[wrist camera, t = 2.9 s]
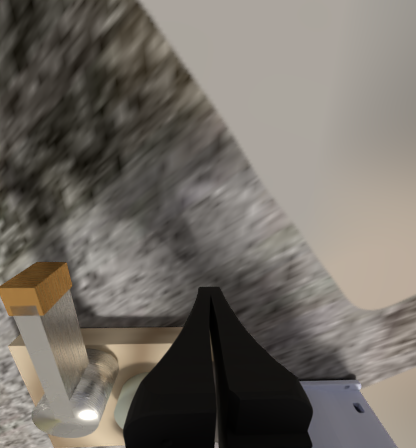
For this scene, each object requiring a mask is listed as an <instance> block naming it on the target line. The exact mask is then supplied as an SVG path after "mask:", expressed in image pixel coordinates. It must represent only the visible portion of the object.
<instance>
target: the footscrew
mask: <svg viewBox="0 0 416 448" xmlns="http://www.w3.org/2000/svg"><path fill="white" fill-rule="evenodd" d="M71 287H72V282H71V278H70V274H69V271H68V267H67V263H66V262H36V263H35V264H33V265H32V266H30V267H28V268H27V269H25V270H24V271H22V272H21V273H19V274H18V275H16V276H15V277H13V278H12V279H10V280H9V281H7V282H6V283H4V284H3V285H1V286H0V296H1V299H2V301H3V303H4V306H5V308H6V310H7V313H8V315H9V316H13V317H14V319H15V321H16V324H17V326H18V329H19V331H20V334H21V336H22V339H23V341H24V343H25V346H26V348H27V351H28V353H29V356H30V358H31V360H32V363H33V365H34V368H35V370H36V373H37V375H38V378H39V380H40V382H41V385H42V387H43V390H44V392H45V393H44V395H43V396H42V398H41V399H40V401H39V402H38V404H37V406H36V407H35V409H34V410H33V412H32V420H33V422H34V424H35V425H36V426H37V427H38V428H39V429H40V430H42V431H44V432H45V433H48V434H50V435H53V436H57V437H62V438H79V437H84V436H87V435H89V434H91V433H93V432H94V431H95V430H96V429H97V428H98V426H99V423H100V421H101V418H102V415H103V413H104V410H105V407H106V405H107V402H108V399H109V397H110V394H111V391H112V389H113V386H114V383H115V381H116V378H117V375H118V372H119V365H118V362H117V361H116V359H115V358H114V357H112V356H111V355H110V354H108V353H106V352H104V351H101V350H97V349H86V348H85V345H84V341H83V337H82V333H81V329H80V326H79V322H78V318H77V314H76V311H75V307H74V303H73V299H72V296H71V292H70V288H71Z"/></svg>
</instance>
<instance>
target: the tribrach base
mask: <svg viewBox="0 0 416 448" xmlns="http://www.w3.org/2000/svg"><path fill="white" fill-rule="evenodd" d="M182 328H183V327H148V328H80V329H81V333H82V337H83V341H84V345H85V348H86V349H97V350H101V351H104V352H106V353H108V354H110V355H111V356H112V357H114V358H115V359H116V361H117V362H118V365H119V372H118V375H117V378H116V381H115V383H114V386H113V389H112V391H111V394H110V397H109V399H108V402H107V405H106V407H105V410H104V413H103V415H102V418H101V421H100V423H99V426H98V428H97V429H96V430H95V431H94V432H93V433H91V434H89V435H87V436H84V437H79V438H62V437H57V436H53V435H50V434H48V435H49V438H50V440H51V442H52V444H53V446H54V448H66V447H92V446H117V445H125V442H124V437H123V428H124V424H125V420H126V417H127V413H128V410H129V407H130V405H131V402H132V399H133V397H134V395H135V393H136V391H137V388H138V386H139V384H140V382H141V381H142V380H143V379H144V378H145V376H146V375H147V374H148V373H149V372H150V371H151V370H152V369H153V368H154V367H155V366H156V364H157V363H158V362H159V361H160V360H161V358H162V357H163V356H164V355H165V353H166V352H167V351H168V350H169V348H170V347H171V345H172V344H173V343H174V341H175V340H176V338H177V337H178V335H179V333H180V332H181V330H182ZM210 342H211V337H210ZM8 347H9V349H10V352H11V354H12V356H13V358H14V360H15V363H16V365H17V367H18V369H19V371H20V374H21V376H22V378H23V380H24V382H25V385H26V387H27V389H28V391H29V393H30V396H31V398H32V400H33V402H34V405H35V407H36V406H37V404H38V402H39V401H40V399H41V398H42V396H43V395H44V393H45V392H44V390H43V387H42V385H41V382H40V380H39V378H38V375H37V373H36V370H35V368H34V365H33V363H32V360H31V358H30V356H29V353H28V351H27V348H26V346H25V343H24V341H23V339H22V336H21V334H20V335H19V336H18V337H17V338H16V339H15V340H14V341H13V342H12V343H11V344H10V345H9V346H8ZM211 354H212V365H213V374H214V383H215V392H216V380H215V367H214V359H213V352H212V344H211ZM216 407H217V400H216ZM215 442H217V443H218V420H217V416H216V430H215Z"/></svg>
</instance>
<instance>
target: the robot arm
mask: <svg viewBox="0 0 416 448" xmlns="http://www.w3.org/2000/svg"><path fill="white" fill-rule="evenodd" d="M210 337H211V342H210ZM211 344H212V352H213V359H214V367H215V380H216V392H215V383H214V374H213V365H212V354H211ZM360 388H361V384H360V382H359V381H358V380H326V381H299V380H298V378H297V377H296V376H295V375H293V374H292V373H291V372H289V371H288V370H287V369H286V368H284V367H283V366H282V365H280V364H279V363H278V362H277V361H276V360H275V359H274V358H272V357H271V356H270V355H269V354H268V353H267V352H266V351H265V350H264V349H263V348H262V347H261V346H260V345H259V344H258V343H257V342H256V341H255V340H254V339H253V337H252V336H251V335H250V334H249V333H248V332H247V330H246V329H245V328H244V327H243V325H242V324H241V323H240V321H239V320H238V318H237V317H236V316H235V314H234V313H233V311H232V309H231V308H230V306H229V304H228V303H227V301H226V299H225V297H224V295H223V293H222V291H221V288H220V287H200V288H199V289H198V295H197V298H196V301H195V304H194V306H193V309H192V311H191V313H190V315H189V317H188V319H187V321H186V323H185V325H184V327H183V328H182V330H181V332H180V333H179V335H178V337H177V338H176V340H175V341H174V343H173V344H172V345H171V347H170V348H169V350H168V351H167V352H166V353H165V355H164V356H163V357H162V358H161V360H160V361H159V362H158V363H157V364H156V366H155V367H154V368H153V369H152V370H151V371H150V372H149V373H148V374H147V375H146V376H145V378H144V379H143V380H142V381H141V382H140V384H139V386H138V388H137V391H136V393H135V395H134V397H133V399H132V402H131V405H130V407H129V410H128V413H127V417H126V420H125V424H124V428H123V437H124V442H125V446H126V448H214V445H215V430H216V416H217V420H218V443H219V448H398V447H397V446H396V444H395V443H394V441H393V440H392V438H391V437H390V436H389V434H388V432H387V431H386V430H385V428H384V426H383V425H382V423H381V422H380V421H379V419H378V417H377V416H376V415H375V413H374V412H373V410H372V409H371V407H370V406H369V404H368V403H367V401H366V400H365V398H364V397H363V395H362V394H361V392H360ZM216 400H217V407H216Z"/></svg>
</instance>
